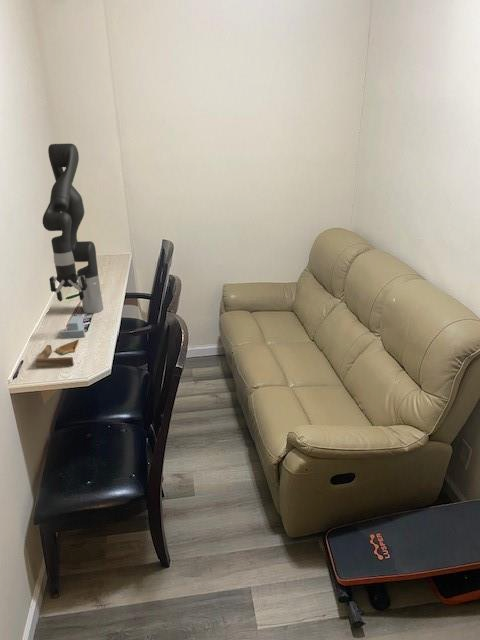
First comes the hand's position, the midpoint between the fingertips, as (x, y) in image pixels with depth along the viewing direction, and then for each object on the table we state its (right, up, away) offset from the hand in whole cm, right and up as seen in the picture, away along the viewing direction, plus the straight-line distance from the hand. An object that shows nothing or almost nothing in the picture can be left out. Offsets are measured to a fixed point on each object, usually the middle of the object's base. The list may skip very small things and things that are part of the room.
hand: (71, 300), depth 196 cm
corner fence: (+2, -23, -18) cm, 29 cm away
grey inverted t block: (0, -14, +6) cm, 15 cm away
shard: (+1, -20, -8) cm, 22 cm away
